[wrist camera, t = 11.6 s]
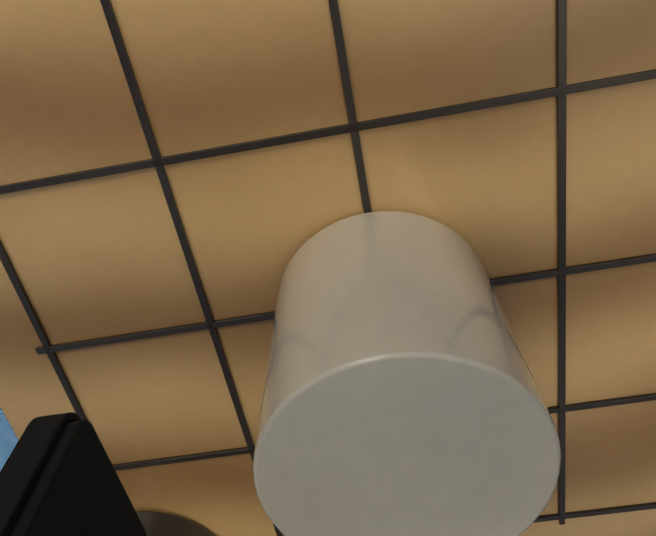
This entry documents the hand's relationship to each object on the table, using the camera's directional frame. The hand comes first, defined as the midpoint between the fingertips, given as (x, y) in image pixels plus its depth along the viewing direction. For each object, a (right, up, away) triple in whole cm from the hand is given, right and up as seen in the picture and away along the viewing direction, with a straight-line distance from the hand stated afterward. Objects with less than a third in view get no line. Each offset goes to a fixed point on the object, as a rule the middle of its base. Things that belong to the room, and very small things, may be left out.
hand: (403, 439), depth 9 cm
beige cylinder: (0, +2, +5) cm, 5 cm away
